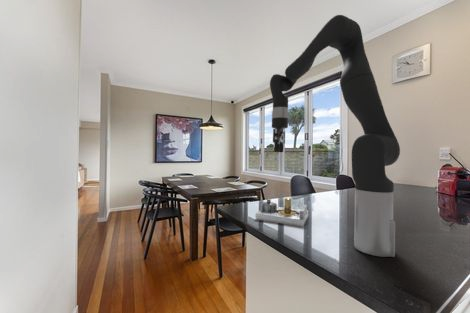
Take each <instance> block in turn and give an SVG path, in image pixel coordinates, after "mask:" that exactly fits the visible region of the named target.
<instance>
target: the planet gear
mask: <svg viewBox="0 0 470 313" xmlns="http://www.w3.org/2000/svg"><path fill="white" fill-rule="evenodd" d="M283 200H284V203H283V204H284V206H283V208H284V211H281V212H278V214H280V215H286V216H296V215H297V214H296V213H295V212H291V209H292V198H289V197H285V198H284V199H283Z"/></svg>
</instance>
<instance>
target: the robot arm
mask: <svg viewBox="0 0 470 313" xmlns="http://www.w3.org/2000/svg"><path fill="white" fill-rule="evenodd" d="M363 39H364V38H363V33H362V29H361V26H360V25H359V23H358V22H356V20H354V19H351V18H349V17H348V16H347V15H346V16H345V15H343V14H336V15H334V16H333V17H332V18H330V19H329V20H328V21H327V22H326V23H325V24H324V25H323V27H322V28H321V29H320V31H319V32H318V33H317V34H316V35H315V36H314V38H313V39H312V40H311V42H310V43H309V44H308V46H306V48H304V50H303V51H302V53H301V54H300V55H299V56H298V57H297V58H296V59H295V60H294V61H293V62H291V63H289V65H288V66H287V67H286V69H284V70H285V71H284V74H280V73H275V74H273V75H272V76H271V78H270V80H269V88H270V92H271V97H272V110H271V111H272V112H271V128H272V129H273V130H272V143H273V145H274V146H273V147H274V148H273V152H274V153H284V145H285V143H286V131H284V129H287V128H288V127H289V97H288V96H287V95H286V94H284V93H283V92H288V91H290V90H292V88H293V87H294V86H295V84H296V82H298V80H299V79H300V78H302V76H304V75H306V73H308V72H309V71H310V69H311V68H312V67H313V64H314V62H315V59H316V58H317V56H318V54H319V53H320V52H322V51H323V50H325V49H326V48H328V47H329V48H332V49H335V50H336V51H338V52H339V54H340V56H341V59H342V63H343V69H342V72H341V76H340V80H339V85H340V89H341V93H342V97H343V100H344V102H345V105H346V106H347V107H348V109H349V110H350V112H351V113H352V114H353V115H354V116H355V118H356V119H357V121H358V122H359V124H360V126H361V128H362V131H363V134H361V135H360V136H358V137H357V138H356V139H355V140H354V142H353V144H352V146H351V174H352V176H351V177H352V179H353V182H354V229H353V230H354V232H353V233H354V234H353V244H354V245H353V246H354V248H355V249H356V250H357V251H360V252H362V253H363V254H367V255H371V256H374V257H382V258H383V257H384V258H385V257H392V258H395V257H396V256H395V255H396V253H395V252H396V221H395V220H394V190H395V184H394V182H393V180H391V179H390V178H388V176H387V175H386V167H389V166H391V165H393V164H394V163H396V162H397V161H398V159H399V157H400V155H401V147H400V144H399V141H398V139H397V137H396V135H395V132H394V130H393V129H392V126H391V124H390V122H389V120H388V117H387V116H386V112H385V108H384V105H383V101H382V99H381V96H380V93H379V90H378V86H377V83H376V80H375V77H374V74H373V71H372V69H371V66H370V62H369V60H368V59H369V58H368V56H367V54H366V50H365V46H364V40H363Z"/></svg>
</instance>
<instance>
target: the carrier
mask: <svg viewBox="0 0 470 313" xmlns="http://www.w3.org/2000/svg"><path fill="white" fill-rule="evenodd" d="M271 200H272V199H271V198H267V199H266V201H263V202H260V210H259V211H257V212H256V213H255V220H256V221H257V220H258V221H264V222H270V223H276V224H277V223H278V224H282V225H290V226H295V227H296V226H297V227H302V228H303V227H304V226H305V224H306V223H307V220H308V218H309V210H308V205H307V204H303V206H301V208H300V209H298V208H291V212H295V213H296V214H297V215H296V216H286V215H280V214H278V212H281V211H284V206H283V207H282V206H278V204H277V203H276V202H272V201H271Z"/></svg>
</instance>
